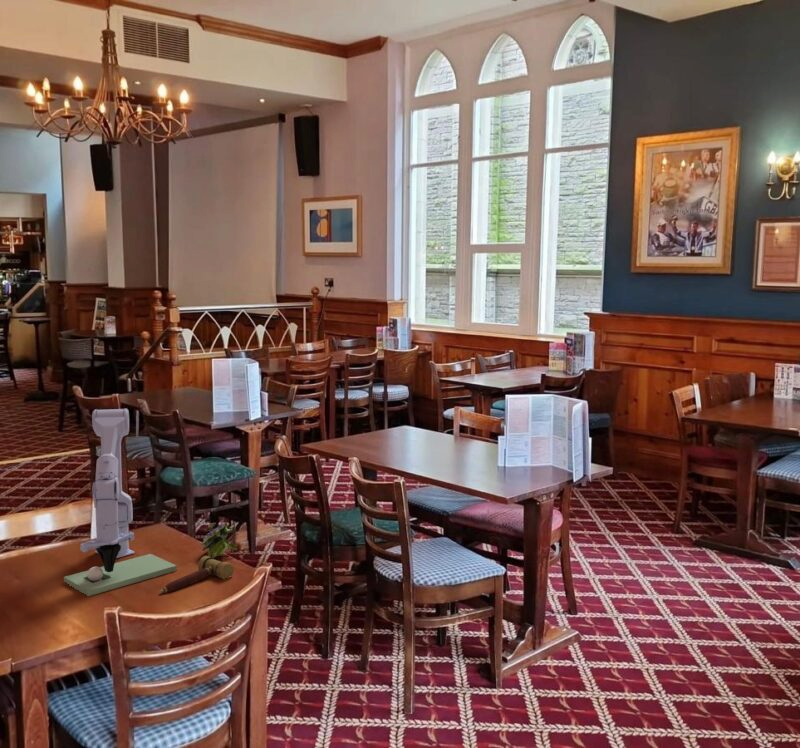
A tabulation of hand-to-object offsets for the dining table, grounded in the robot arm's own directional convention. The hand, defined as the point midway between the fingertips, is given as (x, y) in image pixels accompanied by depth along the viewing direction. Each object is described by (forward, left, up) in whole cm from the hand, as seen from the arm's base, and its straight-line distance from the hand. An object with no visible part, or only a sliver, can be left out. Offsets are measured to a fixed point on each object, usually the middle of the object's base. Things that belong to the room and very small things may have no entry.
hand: (108, 570), depth 225 cm
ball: (-1, -4, 0) cm, 4 cm away
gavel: (+18, +15, -3) cm, 23 cm away
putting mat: (0, +4, -2) cm, 4 cm away
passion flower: (+4, +33, -3) cm, 34 cm away
